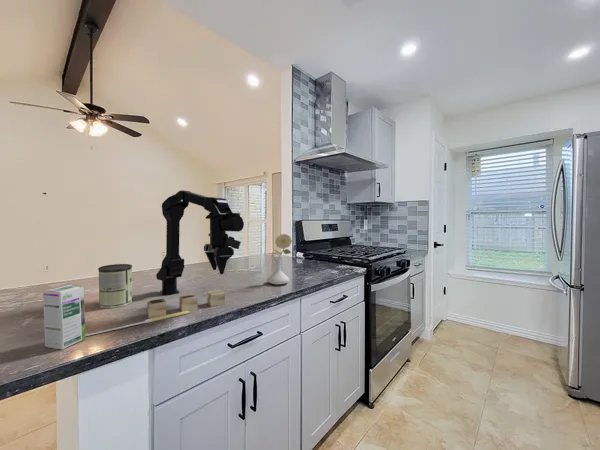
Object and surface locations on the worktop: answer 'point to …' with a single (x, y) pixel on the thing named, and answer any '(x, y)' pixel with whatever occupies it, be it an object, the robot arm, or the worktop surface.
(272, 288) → the worktop surface
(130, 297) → the coffee can
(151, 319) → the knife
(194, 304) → the marked block 2
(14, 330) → the worktop surface
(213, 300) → the plain block
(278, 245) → the flower in vase
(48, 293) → the syrup box
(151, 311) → the marked block 1
